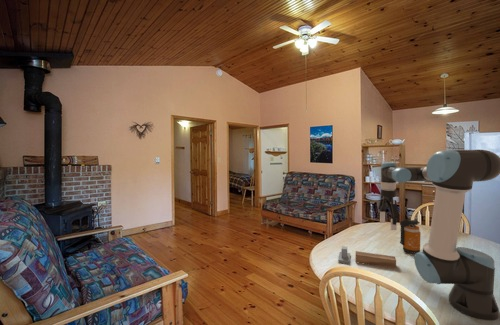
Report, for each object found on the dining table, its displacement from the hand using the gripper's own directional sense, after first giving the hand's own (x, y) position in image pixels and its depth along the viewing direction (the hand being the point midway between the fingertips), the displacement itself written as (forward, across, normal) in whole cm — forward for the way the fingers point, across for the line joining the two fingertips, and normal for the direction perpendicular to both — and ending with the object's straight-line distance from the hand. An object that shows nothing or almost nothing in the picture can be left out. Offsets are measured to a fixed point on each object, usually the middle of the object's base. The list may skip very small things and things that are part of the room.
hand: (387, 226), depth 141 cm
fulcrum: (+20, 0, +24) cm, 31 cm away
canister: (+20, +13, -19) cm, 31 cm away
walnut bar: (+20, -5, +9) cm, 23 cm away
